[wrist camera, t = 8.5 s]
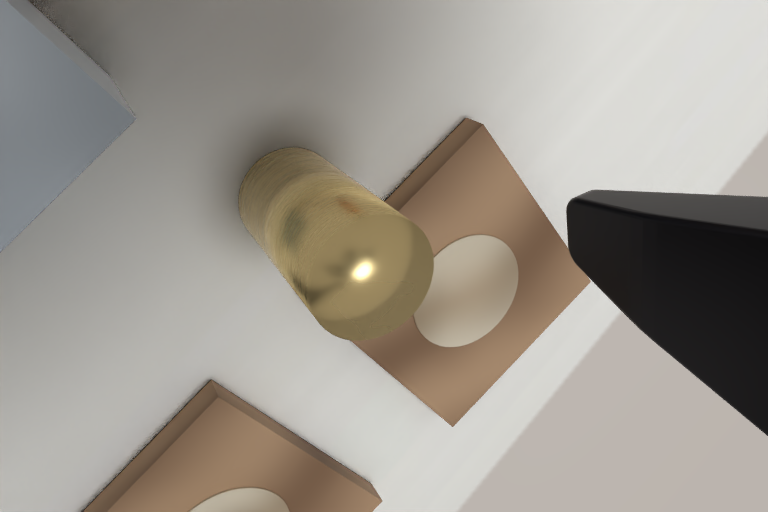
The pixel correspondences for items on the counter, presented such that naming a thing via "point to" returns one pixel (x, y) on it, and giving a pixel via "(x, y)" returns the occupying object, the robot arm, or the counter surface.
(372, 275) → the pin
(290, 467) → the board
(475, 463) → the counter surface
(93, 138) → the grey block
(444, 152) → the build board
